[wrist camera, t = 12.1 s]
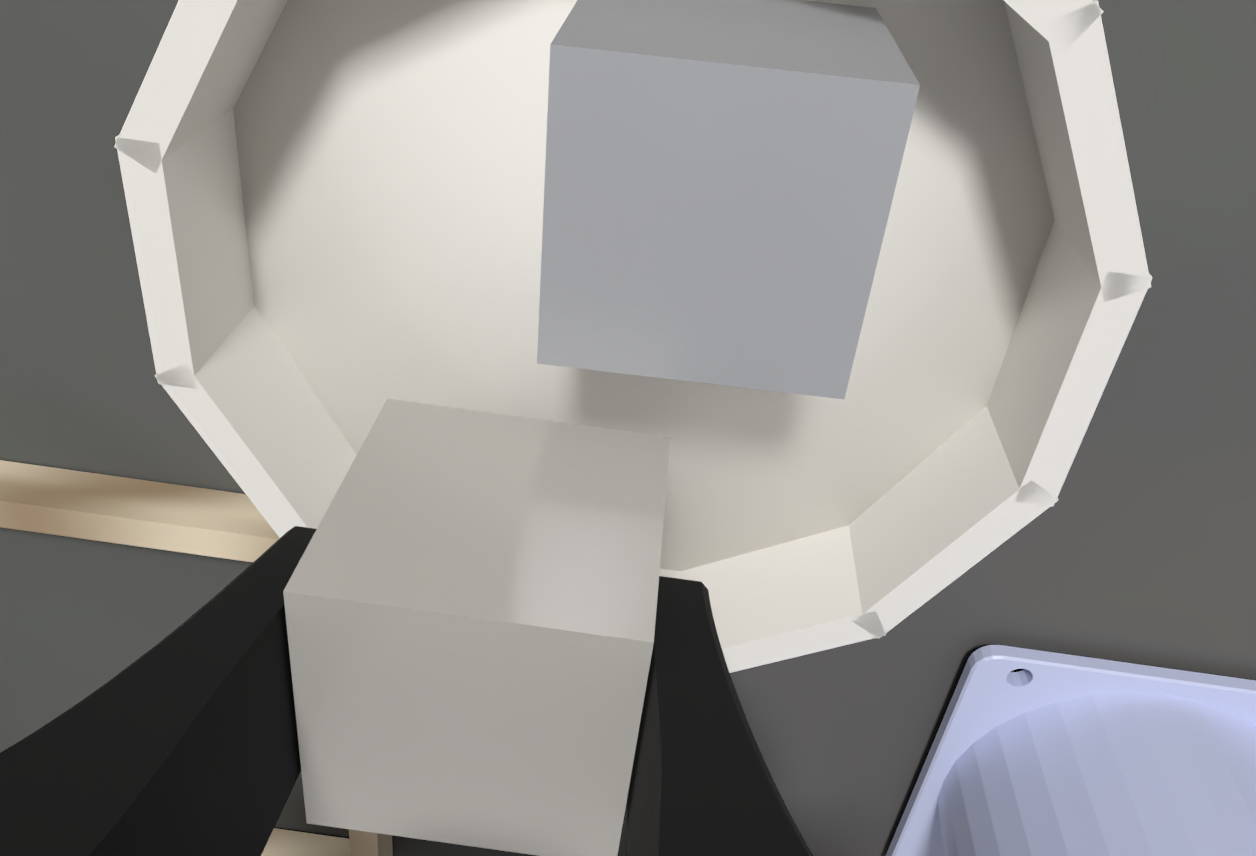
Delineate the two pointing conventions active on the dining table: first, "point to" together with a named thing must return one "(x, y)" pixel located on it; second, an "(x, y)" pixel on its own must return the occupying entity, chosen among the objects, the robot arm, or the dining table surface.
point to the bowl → (685, 411)
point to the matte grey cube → (718, 188)
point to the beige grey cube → (479, 631)
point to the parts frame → (167, 525)
